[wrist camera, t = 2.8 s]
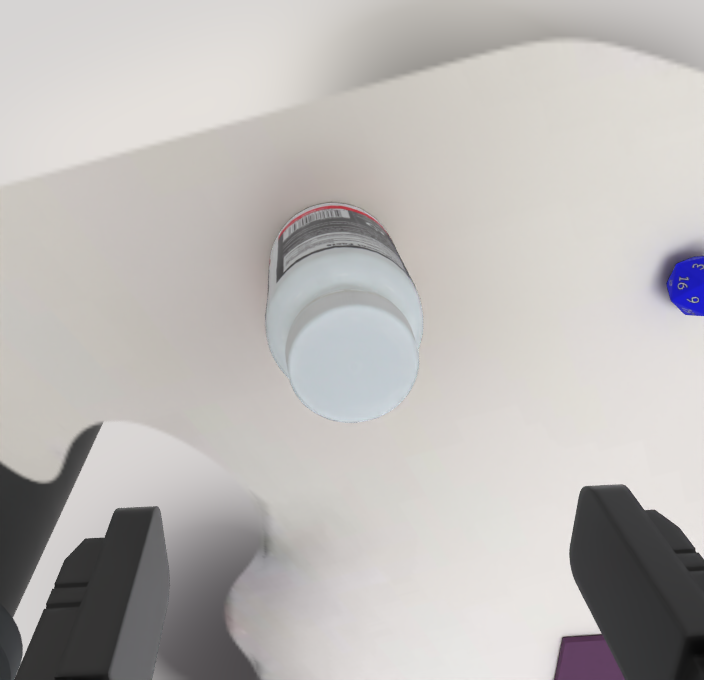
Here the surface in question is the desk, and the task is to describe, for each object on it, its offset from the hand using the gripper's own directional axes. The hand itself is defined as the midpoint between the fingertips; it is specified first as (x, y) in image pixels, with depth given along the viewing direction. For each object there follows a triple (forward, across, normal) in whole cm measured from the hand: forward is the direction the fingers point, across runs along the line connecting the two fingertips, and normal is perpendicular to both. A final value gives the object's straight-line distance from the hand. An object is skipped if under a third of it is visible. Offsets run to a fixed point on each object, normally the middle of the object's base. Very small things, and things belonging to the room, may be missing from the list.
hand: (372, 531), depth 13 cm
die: (+18, -16, +2) cm, 24 cm away
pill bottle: (+18, 0, 0) cm, 18 cm away
